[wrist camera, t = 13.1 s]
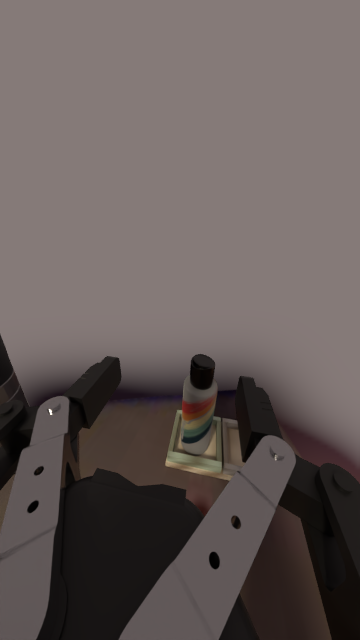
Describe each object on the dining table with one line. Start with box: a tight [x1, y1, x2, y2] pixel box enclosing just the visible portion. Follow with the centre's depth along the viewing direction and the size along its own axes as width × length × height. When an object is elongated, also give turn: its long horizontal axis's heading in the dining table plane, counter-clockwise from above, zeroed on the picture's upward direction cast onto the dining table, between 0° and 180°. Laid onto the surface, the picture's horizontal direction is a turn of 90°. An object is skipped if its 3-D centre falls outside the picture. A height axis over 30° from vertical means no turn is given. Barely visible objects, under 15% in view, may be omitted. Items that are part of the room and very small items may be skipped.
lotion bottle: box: [181, 354, 218, 456], centre depth 32 cm, size 6×6×20 cm
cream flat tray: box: [166, 410, 245, 481], centre depth 36 cm, size 20×10×3 cm, turn 80°
